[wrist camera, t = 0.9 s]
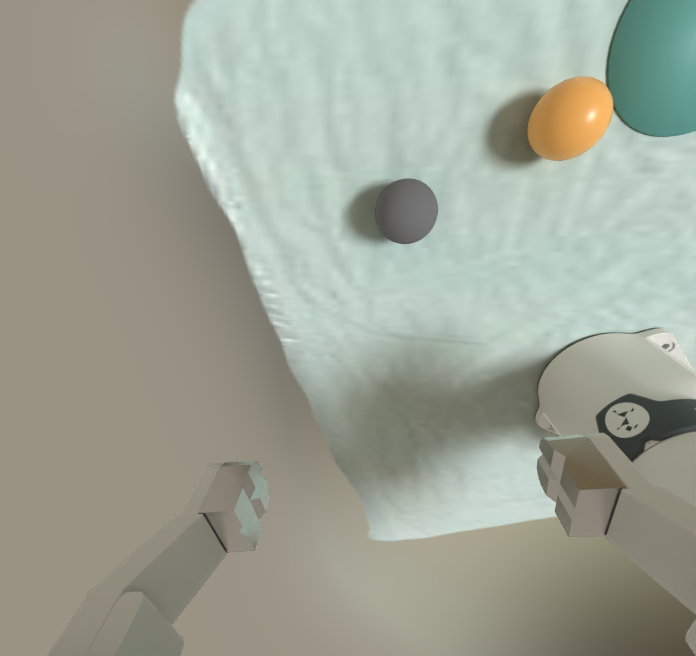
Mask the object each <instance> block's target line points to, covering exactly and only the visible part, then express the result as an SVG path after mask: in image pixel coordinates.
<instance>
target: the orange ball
mask: <svg viewBox="0 0 696 656" xmlns="http://www.w3.org/2000/svg"><path fill="white" fill-rule="evenodd" d="M612 114H613V98H612V95H611V93H610V91H609V89H608V88H607V86H606V85H605V84H604V83H603V82H601V81H599V80H597V79H595V78H592V77H575V78H571V79H567V80H565V81H563V82H561V83H559V84H557V85H555V86H554V87H553V88H551V89H550V90H549V91H548V92H547V93H545V94H544V95H543V96H542V98H541V99H540V100H539V101H538V103H537V104H536V106H535V107H534V109H533V111H532V113H531V116H530V119H529V123H528V140H529V143H530V145H531V147H532V149H533V150H534V151H535V152H536V153H537V154H538V155H539V156H541V157H543V158H545V159H548V160H553V161H562V160H568V159H572V158H574V157H577V156H579V155H581V154H583V153H584V152H586V151H587V150H589V149H590V148H591V147H593V146H594V145H595V144H596V143H597V142H598V141H599V140H600V138H601V137H602V136H603V134H604V133H605V131H606V130H607V128H608V126H609V124H610V121H611V118H612Z"/></svg>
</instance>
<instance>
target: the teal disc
mask: <svg viewBox="0 0 696 656" xmlns="http://www.w3.org/2000/svg"><path fill="white" fill-rule="evenodd" d="M608 85H609V91H610V93H611V95H612V98H613V105H614V107H615V109H616V111H617V112H618V114H619V115H620V117H621V118H622V119H623V120H624V121H625V122H626V123H627V124H628V125H629V126H630V127H632V128H634V129H635V130H637V131H639V132H642V133H645V134H648V135H653V136H675V135H682V134H686V133H690V132H693V131H696V0H630V2H629V4H628V6H627V8H626V10H625V12H624V14H623V16H622V18H621V20H620V23H619V25H618V28H617V30H616V33H615V36H614V40H613V43H612V47H611V52H610V57H609V65H608Z"/></svg>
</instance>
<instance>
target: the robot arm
mask: <svg viewBox="0 0 696 656" xmlns="http://www.w3.org/2000/svg"><path fill="white" fill-rule="evenodd" d="M662 345H663V346H662ZM538 396H539V402H540V406H539V409H538V411H537V414H536V417H535V421H536V423H537V424H538V425H539V426H540V427H541V428H542V429H545V430H547V431H550V432H552V433H554V434H557V435H559V436H557V437H546V438H542V439H541V441H540V446H539V448H540V450H541V452H542V454H543V455H542V456H540V457H539V458H538V460H537V472H538V477H539V480H540V483H541V486H542V488H543V490H544V492H545V494H546V495H547V496H548V497H549V498H551V499H552V500H553V501H555V502H556V507H555V513H556V515H557V516H558V518H559V520H560V522H561V524H562V526H563V528H564V530H565V531H566V533H567V535H568V537H598V536H599V537H604V536H606V539H607V540H608V541H609V542H611V543H612V544H613V545H614V546H615V547H617V548H618V549H619V550H620V551H621V552H622V553H623V554H625V555H626V556H627V557H628V558H629V559H630V560H632V561H633V562H634V563H635V564H636V565H638V566H639V567H640V568H641V569H642V570H644V571H645V572H646V573H647V574H648V575H649V576H651V577H652V578H653V579H654V580H655V581H657V582H658V583H659V584H660V585H661V586H662V587H664V588H665V589H666V590H667V591H668V592H670V593H671V594H672V595H673V596H674V597H675V598H677V599H678V600H679V601H680V602H681V603H683V604H684V605H685V606H686V607H687V608H688V609H690V610H691V611H692V612H693V613H694V614H696V371H695V370H694V369H693V367H692V366H691V364H690V362H689V361H688V359H687V357H686V356H685V354H684V352H683V351H682V349H681V348H680V346H679V344H678V343H677V341H676V339H675V338H674V336H673V335H672V334H671V333H670V332H669V331H667V330H666V329H664V328H657V329H652V330H648V331H644V332H640V333H636V334H625V333H610V334H602V335H597V336H593V337H590V338H587V339H584V340H582V341H580V342H577V343H575V344H574V345H572V346H570V347H568V348H567V349H565V350H564V351H563V352H561V353H560V354H559V355H558V356H556V357H555V358H554V359H553V360H552V361H551V362H550V364H549V365H548V366H547V368H546V369H545V371H544V372H543V374H542V376H541V379H540V382H539V386H538ZM261 469H262V468H261V466H260V464H259V462H258V461H246V462H228V463H227V462H226V463H212V464H209V465H207V466H206V467H205V469H204V470H203V472H202V474H201V476H200V478H199V480H198V481H197V483H196V485H195V487H194V489H193V491H192V493H191V495H190V497H189V499H188V501H187V503H186V504H185V506H184V508H183V510H182V512H181V514H180V515H175V516H174V517H173V518H172V519H170V520H169V521H168V522H167V523H166V524H165V525H164V526H162V527H161V528H160V529H159V530H158V531H157V532H156V533H154V534H153V535H152V536H151V537H150V538H149V539H148V540H147V541H145V542H144V543H143V544H142V545H141V546H140V547H139V548H138V549H136V550H135V551H134V552H133V553H132V554H130V555H129V556H128V557H127V558H126V559H125V560H124V561H122V562H121V563H120V564H119V565H118V566H117V567H116V568H114V569H113V570H112V571H111V572H110V573H109V574H108V575H107V576H105V577H104V578H103V579H102V580H101V581H100V582H99V583H97V584H96V585H95V586H94V587H93V588H92V589H91V590H89V592H88V593H87V595H86V596H85V598H84V599H83V601H82V602H81V604H80V606H79V607H78V608H77V610H76V612H75V613H74V615H73V616H72V618H71V619H70V621H69V623H68V624H67V626H66V627H65V629H64V630H63V632H62V634H61V635H60V637H59V638H58V640H57V641H56V643H55V645H54V646H53V648H52V649H51V651H50V652H49V654H48V655H47V656H180V654H181V651H182V649H183V646H184V640H183V637H182V636H181V635H180V634H179V632H178V631H177V630H176V629H175V628H174V627H173V626H172V624H173V623H174V622H175V620H176V619H177V618H178V617H179V615H180V614H181V613H182V612H183V610H184V609H185V608H186V606H187V605H188V604H189V603H190V601H191V600H192V599H193V597H194V596H195V595H196V593H197V592H198V591H199V590H200V588H201V587H202V586H203V585H204V583H205V582H206V581H207V579H208V578H209V577H210V575H211V574H212V573H213V572H214V570H215V569H216V568H217V566H218V565H219V564H220V563H221V561H222V560H223V559H224V558H225V556H226V555H227V554H226V553H229V552H243V551H254V550H255V548H256V545H257V542H258V538H259V535H260V531H261V528H262V526H261V523H260V521H259V519H260V518H261V517H262V515H263V514H264V513H265V512H266V510H267V506H268V502H269V487H268V483H267V480H266V479H265V478H264V477H263V476H261V475H260V472H261ZM685 640H686V642H687V643H688V645H689V646H690V648H691V649H692V651H693V652H694V654H695V656H696V620H695V621H694V623H693V624H692V626H691V627H690V629H689V630H688V632H687V635H686V638H685Z"/></svg>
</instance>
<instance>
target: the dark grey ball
mask: <svg viewBox="0 0 696 656" xmlns="http://www.w3.org/2000/svg"><path fill="white" fill-rule="evenodd" d="M437 213H438V205H437V200H436V197H435V195H434V193H433V192H432V190H431V189H430V188H429V187H428V186H427V185H426V184H425V183H423V182H421V181H419V180H416V179H401V180H398V181H395V182H393V183H392V184H390V185H389V186H388V187H386V188H385V189H384V191H383V192H382V193H381V195H380V197H379V199H378V201H377V204H376V209H375V218H376V222H377V225H378V227H379V229H380V231H381V232H382V234H383V235H384V236H385V237H386V238H388V239H389V240H391V241H393V242H396V243H400V244H410V243H414V242H417V241H419V240H421V239H422V238H424V237H425V236H426V235H427V234H428V233H429V232H430V231H431V229H432V228H433V226H434V224H435V222H436V219H437Z"/></svg>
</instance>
